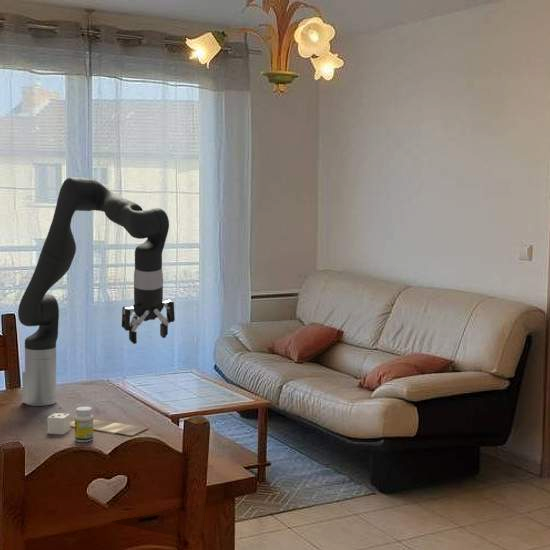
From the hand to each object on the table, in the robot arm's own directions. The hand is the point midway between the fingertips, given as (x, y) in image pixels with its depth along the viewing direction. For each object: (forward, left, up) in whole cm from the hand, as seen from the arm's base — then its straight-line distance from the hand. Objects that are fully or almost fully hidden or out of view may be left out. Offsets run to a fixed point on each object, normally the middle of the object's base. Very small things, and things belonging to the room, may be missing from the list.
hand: (148, 339), depth 218 cm
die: (-21, -11, -25) cm, 35 cm away
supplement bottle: (-11, -14, -26) cm, 31 cm away
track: (-12, -2, -25) cm, 28 cm away
